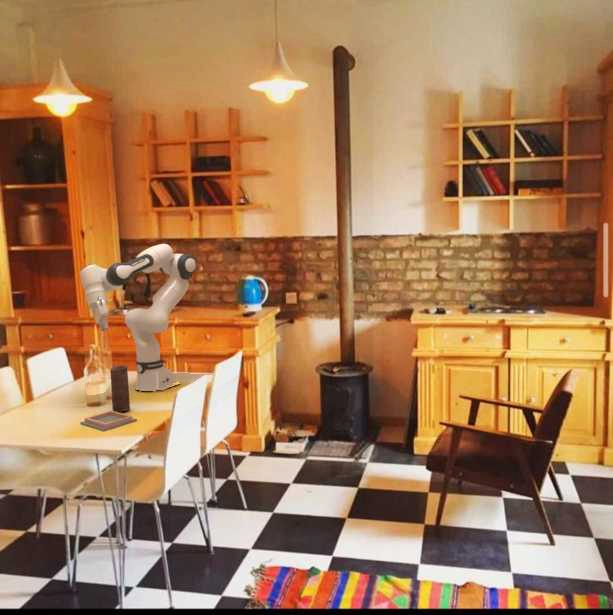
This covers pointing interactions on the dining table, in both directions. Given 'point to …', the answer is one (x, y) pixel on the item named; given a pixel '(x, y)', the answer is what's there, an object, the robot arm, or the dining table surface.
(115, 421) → the plate
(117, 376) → the candle
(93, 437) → the dining table surface
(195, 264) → the robot arm
